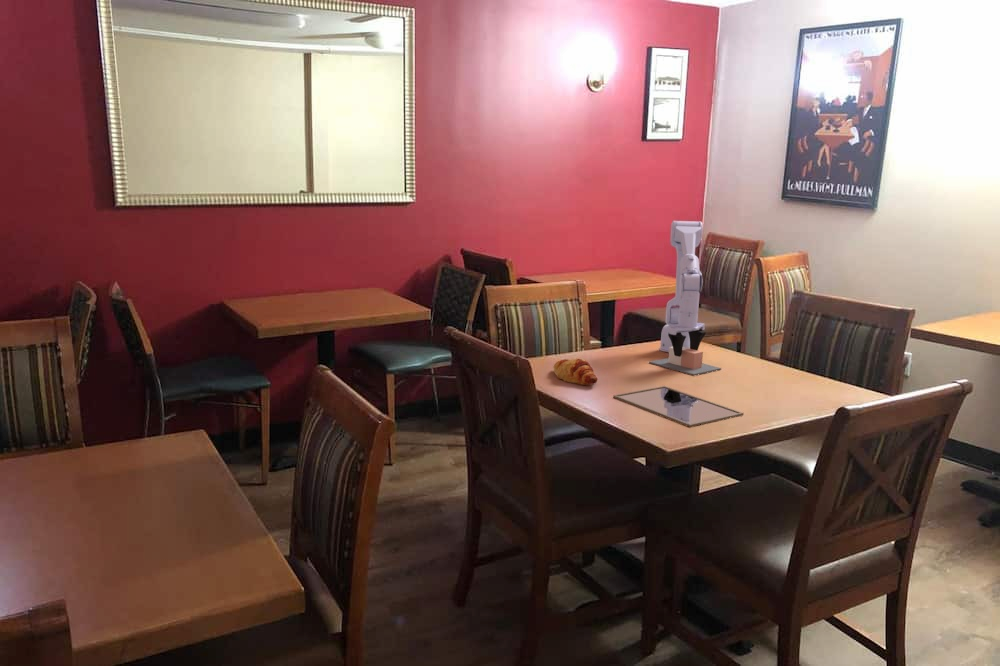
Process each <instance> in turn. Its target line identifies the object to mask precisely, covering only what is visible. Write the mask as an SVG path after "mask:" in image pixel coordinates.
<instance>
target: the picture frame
mask: <svg viewBox="0 0 1000 666" xmlns="http://www.w3.org/2000/svg"><path fill="white" fill-rule="evenodd" d="M612 397H613V399H616V400H618V401H621V402H624V403H626V404H629V405H631V406H633V407H637V408H639V409H642V410H644V411H646V412H650V413H651V414H654V413H655V415H657V414H658V415H657V416H660V415H661V416H660V417H662V416H663V418H665V417H666V419H667V418H669V419H668V420H670V419H671V420H670V421H673V422H675V421H676V422H675V423H678V424H680V423H681V425H683V424H684V425H683V426H685V425H687V426H686V427H688V426H689V428H693V427H692V426H694V427H697V425H698V426H701V425H700V424H702V425H705V424H706V423H707V424H711V423H714V422H715V423H716V422H719V421H718V420H720V421H723V419H724V420H727V419H726V418H728V419H731V418H730V417H732V418H736V417H735V416H737V417H740V415H741V416H744V412H743V411H742V412H741V411H739V410H737V409H733V408H729V407H728V406H724V405H721V404H719V403H716V402H713V401H710V400H707V399H703V398H701V397H698V396H695V395H692V394H688V393H687V392H685V391H684V392H683V391H681V390H677V389H674V388H672V387H668V386H666V385H663V386H658V387H652V388H647V389H641V390H636V391H629V392H624V393H620V394H619V393H618V394H613V396H612ZM710 422H711V423H710Z"/></svg>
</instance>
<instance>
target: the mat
mask: <svg viewBox="0 0 1000 666" xmlns="http://www.w3.org/2000/svg"><path fill="white" fill-rule="evenodd" d="M668 359H669V357H667V358H666V357H665V358H662V359H657V360H651V361H648V363H649V364H651V365H655V366H657V365H658V367H660V368H664V367H665V369H668V368H669V369H668V370H672V371H675V370H676V371H675V372H679V371H680V373H682V372H683V374H686V373H687V375H689V374H691V375H690V376H693V375H696V376H699V375H698V374H700V375H702V374H703V373H704V374H708V373H707V372H709V373H713V372H717V371H716V370H718V371H721V370H722V367H719V366H715V365H710V364H708V363H704V362H702V367H701V368H697V369H691V368H687V367H683V366H680V365H676V364H672V363H668ZM712 371H713V372H712Z"/></svg>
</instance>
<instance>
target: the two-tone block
mask: <svg viewBox="0 0 1000 666" xmlns="http://www.w3.org/2000/svg"><path fill="white" fill-rule="evenodd" d="M703 355H704V351H701V350H699V349H698V350H693V349H689V348H685V347H682V354H681V357H678V356H675V355H674V350H673V347H669V352H668V358H669V359H668V363H672V364H676V365H680V366H683V367H687V368H691V369H697V368H701V367H702V363H703V357H704V356H703Z"/></svg>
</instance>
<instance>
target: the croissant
mask: <svg viewBox="0 0 1000 666" xmlns="http://www.w3.org/2000/svg"><path fill="white" fill-rule="evenodd" d="M553 373H554V374H555V376H556V377H557V379H559V380H561V381H564V382H566V383H572V384H577V385H581V386H592V385H594V384H596V383H597V382H598V377H597V375H596V374H595V373H594V370H593V368H592V367H591V364H590V363H589V362H588V361H587V360H586V359H583V358H581V357H580V358H571V359H569V358H565V359H561V360H558V361H556V362H555V364H554V365H553Z"/></svg>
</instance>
